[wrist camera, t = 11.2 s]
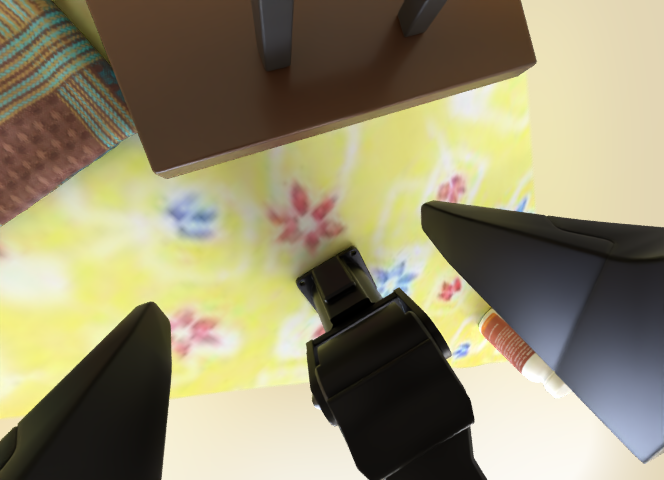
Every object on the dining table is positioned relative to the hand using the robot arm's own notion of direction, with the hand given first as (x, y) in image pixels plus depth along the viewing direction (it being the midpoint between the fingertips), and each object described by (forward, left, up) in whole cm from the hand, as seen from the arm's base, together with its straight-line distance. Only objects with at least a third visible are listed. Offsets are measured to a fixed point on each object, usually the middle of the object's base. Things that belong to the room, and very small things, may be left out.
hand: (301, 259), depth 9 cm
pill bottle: (-36, -17, -13) cm, 42 cm away
